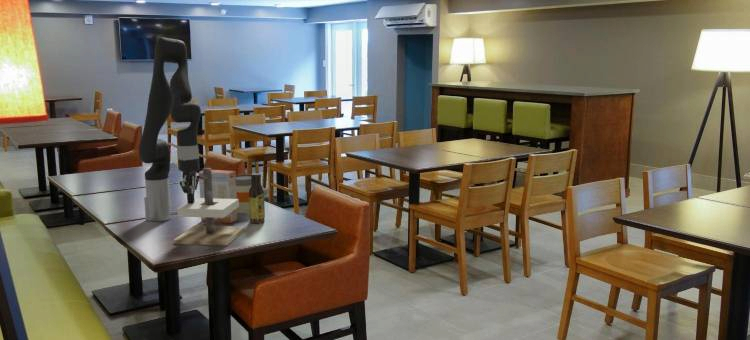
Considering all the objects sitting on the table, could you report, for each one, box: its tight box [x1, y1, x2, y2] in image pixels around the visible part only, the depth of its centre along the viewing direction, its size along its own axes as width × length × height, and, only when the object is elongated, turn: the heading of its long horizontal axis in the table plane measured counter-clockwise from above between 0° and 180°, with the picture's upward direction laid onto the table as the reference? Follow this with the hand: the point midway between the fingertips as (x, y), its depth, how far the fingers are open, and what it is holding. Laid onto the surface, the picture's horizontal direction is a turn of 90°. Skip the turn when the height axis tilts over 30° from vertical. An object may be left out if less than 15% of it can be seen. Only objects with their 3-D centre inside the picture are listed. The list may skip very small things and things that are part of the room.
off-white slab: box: [177, 197, 239, 218], centre depth 233 cm, size 17×17×3 cm
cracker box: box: [198, 169, 239, 224], centre depth 257 cm, size 14×6×21 cm, turn 71°
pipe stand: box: [173, 167, 246, 246], centre depth 233 cm, size 20×20×26 cm
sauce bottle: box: [248, 172, 266, 224], centre depth 255 cm, size 7×6×20 cm
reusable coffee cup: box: [236, 173, 252, 214], centre depth 274 cm, size 13×13×15 cm
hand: (191, 203), depth 234 cm, fingers closed
